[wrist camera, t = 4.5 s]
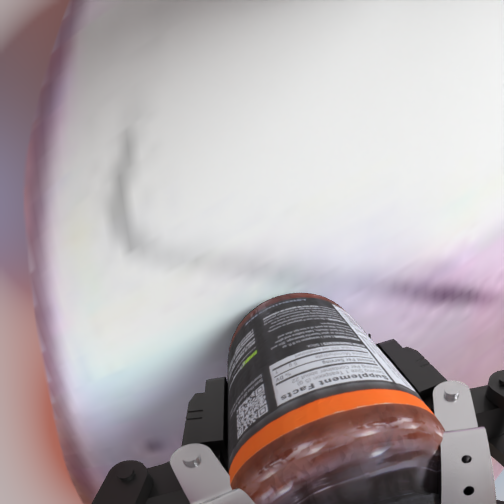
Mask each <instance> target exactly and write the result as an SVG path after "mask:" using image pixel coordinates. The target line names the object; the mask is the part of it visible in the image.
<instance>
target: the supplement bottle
mask: <svg viewBox="0 0 504 504" xmlns="http://www.w3.org/2000/svg"><path fill="white" fill-rule="evenodd" d="M227 396H228V406H227V407H228V465H227V469H228V474H229V476H230V486H231V488H232V490H233V489H236V488H239V489H241V490H243V491H244V492H245V493H246V494H248V495H249V497H250V498H251V499H252V500H253V502H254V503H255V504H439V494H436V491H437V463H438V457H439V450H440V443H441V442H442V440H443V434H444V431H445V429H444V428H443V426H442V424H441V423H440V421H439V420H438V419H437V417H436V416H435V415H434V414H433V413H432V411H431V410H430V409H429V408H428V406H427V405H426V404H425V403H424V401H423V400H422V399H421V397H420V396H419V395H418V393H417V392H416V391H415V390H414V388H413V387H412V386H411V385H410V383H409V382H408V381H407V380H406V379H405V378H404V377H403V376H402V375H401V373H400V372H399V371H398V370H397V369H396V368H395V366H394V365H393V363H392V362H391V361H390V360H389V359H388V358H387V357H386V356H385V355H384V353H383V352H382V351H381V350H380V349H379V348H378V347H377V346H376V344H375V343H374V342H373V341H372V340H371V335H370V334H369V336H368V335H367V334H366V333H365V332H364V331H363V330H362V328H361V327H360V326H359V325H358V324H357V323H356V322H355V320H354V319H353V318H352V317H351V316H350V315H349V314H348V313H346V311H345V310H343V309H342V308H341V307H340V306H339V305H338V304H336V303H335V302H333V301H331V300H329V299H327V298H325V297H322V296H320V295H316V294H309V293H292V294H286V295H281V296H277V297H275V298H272V299H269V300H267V301H265V302H263V303H261V304H260V305H259V306H257V307H256V308H255V309H254V310H252V311H251V312H250V313H249V314H248V315H247V316H246V317H245V318H244V319H243V320H242V322H241V323H240V324H239V326H238V327H237V329H236V331H235V333H234V335H233V337H232V340H231V344H230V348H229V355H228V391H227Z"/></svg>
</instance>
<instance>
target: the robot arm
mask: <svg viewBox="0 0 504 504" xmlns="http://www.w3.org/2000/svg"><path fill="white" fill-rule="evenodd" d="M376 346H377V347H378V348H379V349H380V350H381V351H382V352H383V353H384V355H385V356H386V357H387V358H388V359H389V360H390V361H391V362H392V363H393V365H394V366H395V368H396V369H397V370H398V371H399V372H400V373H401V375H402V376H403V377H404V378H405V379H406V380H407V381H408V382H409V383H410V385H411V386H412V387H413V388H414V390H415V391H416V392H417V393H418V395H419V396H420V397H421V399H422V400H423V401H424V403H425V404H426V405H427V406H428V408H429V409H430V410H431V411H432V413H433V414H434V415H435V416H436V417H437V419H438V420H439V421H440V423H441V424H442V426H443V428H444V429H445V431H444V434H443V440H442V442H441V443H440V450H439V457H438V463H437V491H436V494H439V504H504V501H500V500H496V494H495V493H496V492H495V484H494V475H493V468H492V461H491V456H492V457H493V458H494V459H495V460H497V461H498V462H499V463H500V464H501V465H502V466H503V467H504V370H502V371H497V372H495V373H493V374H492V375H491V376H490V378H489V382H488V385H486V386H482V387H477V388H471V389H469V388H468V386H467V385H465V384H464V383H462V382H459V381H447V380H446V379H445V378H444V377H443V376H442V375H441V374H440V373H439V372H438V371H437V370H436V369H435V368H434V367H433V366H432V365H431V364H430V363H429V362H428V361H427V360H426V359H424V357H423V356H422V355H421V354H420V353H419V352H418V351H416V350H414V349H411V348H409V347H405V348H402V347H401V346H400V345H399V344H398V343H397V341H396V340H394V339H392V340H388V341H385V342H382V343H378V344H376ZM227 391H228V383H227V380H226V377H222V378H216V379H209V380H206V387H205V393H197V394H195V395H194V396H193V398H192V399H191V400H190V402H189V405H188V411H187V412H188V413H187V417H186V423H185V429H184V435H183V441H182V447H180V448H179V449H177V450H176V451H175V452H174V453H173V454H172V456H171V458H170V461H169V462H167V463H165V464H162V465H158V466H155V467H151V468H147V469H146V467H145V466H144V465H143V464H142V463H140V462H138V461H133V460H129V461H123V462H120V463H118V464H116V465H115V466H114V467H112V469H111V470H110V471H109V473H108V475H107V476H106V478H105V480H104V482H103V484H102V486H101V487H100V489H99V491H98V493H97V495H96V497H95V499H94V500H93V502H92V504H255V503H254V502H253V500H252V499H251V498H250V497H249V495H248V494H246V493H245V492H244V491H243V490H241V489H239V488H236V489H233V490H232V488H231V486H230V476H229V474H228V469H227V465H228V407H227V406H228V396H227Z"/></svg>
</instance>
